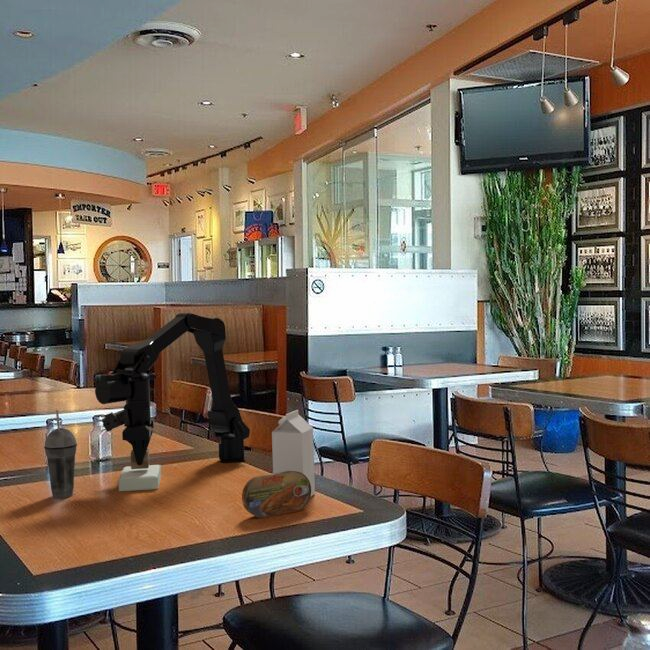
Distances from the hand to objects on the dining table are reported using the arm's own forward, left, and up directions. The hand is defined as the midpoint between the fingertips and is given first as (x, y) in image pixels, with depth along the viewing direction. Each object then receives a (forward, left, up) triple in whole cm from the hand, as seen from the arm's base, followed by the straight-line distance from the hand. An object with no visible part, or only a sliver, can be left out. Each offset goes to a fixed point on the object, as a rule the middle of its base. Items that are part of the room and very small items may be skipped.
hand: (140, 463), depth 196 cm
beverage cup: (+17, +8, -5) cm, 19 cm away
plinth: (0, 0, -5) cm, 5 cm away
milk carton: (-35, +23, -5) cm, 42 cm away
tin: (-30, +35, -5) cm, 46 cm away
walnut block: (0, 0, -1) cm, 1 cm away
